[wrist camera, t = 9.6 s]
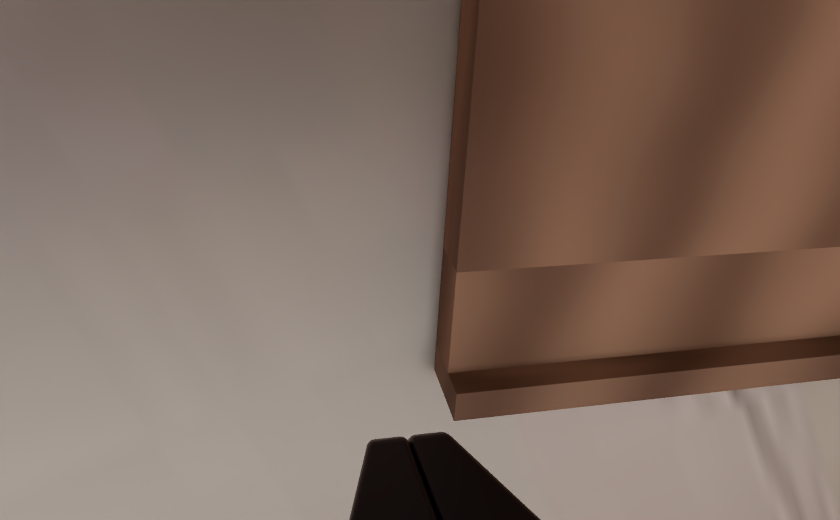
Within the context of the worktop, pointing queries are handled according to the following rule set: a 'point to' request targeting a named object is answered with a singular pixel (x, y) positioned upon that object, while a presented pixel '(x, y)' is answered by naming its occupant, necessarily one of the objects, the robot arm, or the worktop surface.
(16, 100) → the worktop surface
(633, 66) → the brown wooden tray
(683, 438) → the worktop surface
